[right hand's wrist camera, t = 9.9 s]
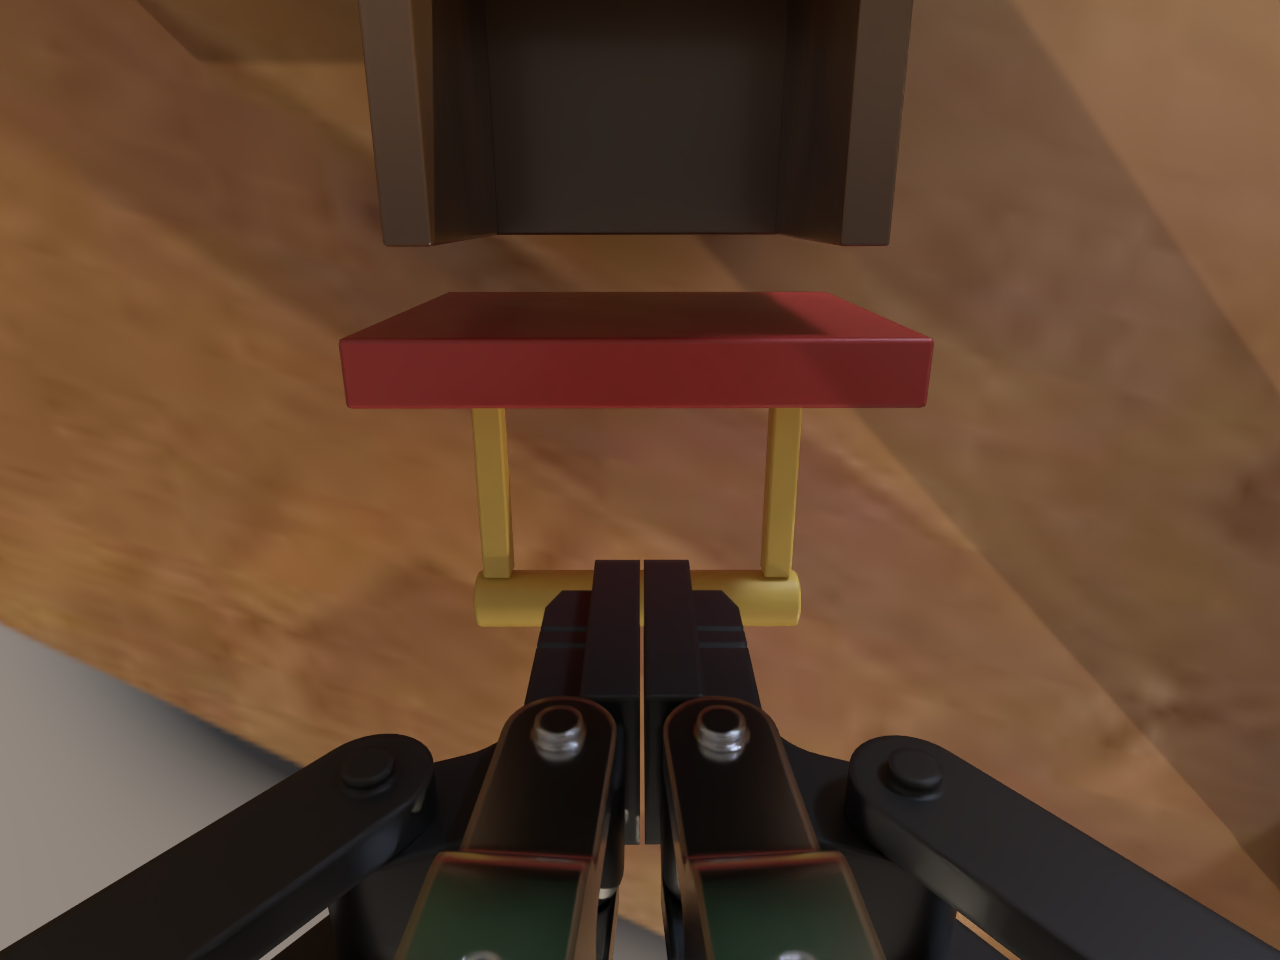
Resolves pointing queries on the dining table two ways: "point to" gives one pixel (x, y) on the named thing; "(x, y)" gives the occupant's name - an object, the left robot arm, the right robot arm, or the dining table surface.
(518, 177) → the drawer
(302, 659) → the dining table surface
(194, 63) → the dining table surface
